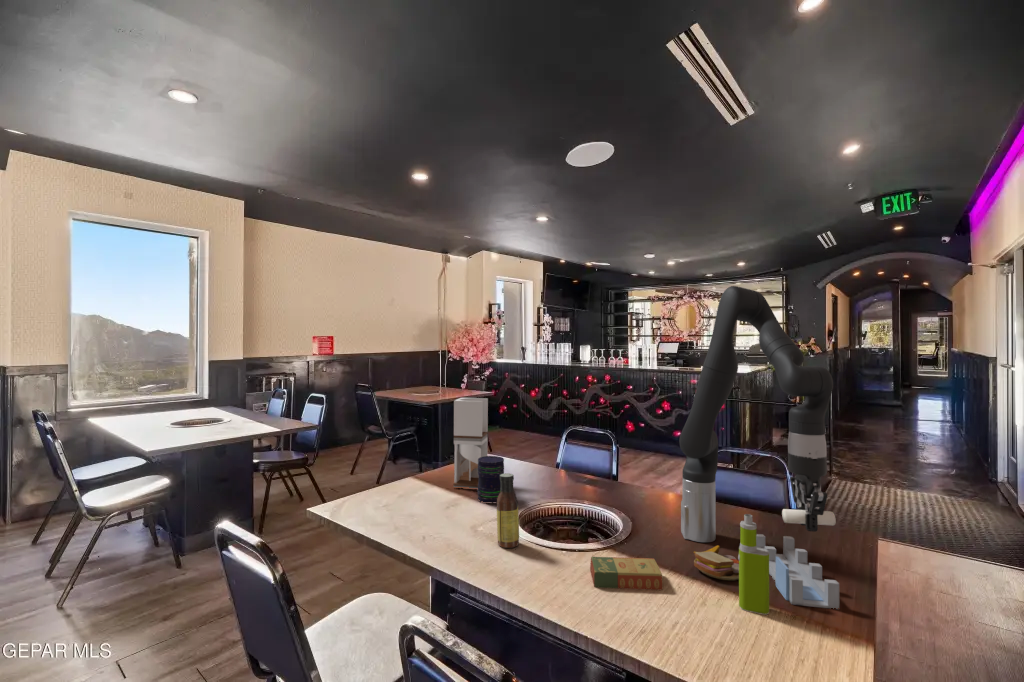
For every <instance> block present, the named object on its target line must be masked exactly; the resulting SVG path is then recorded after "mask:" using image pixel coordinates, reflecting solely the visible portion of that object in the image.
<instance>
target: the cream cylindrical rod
mask: <svg viewBox="0 0 1024 682" xmlns="http://www.w3.org/2000/svg"><path fill="white" fill-rule="evenodd" d="M805 514H806V512H805V510H799V509H789V508H783V509H782V510H781V515H782V520H783V523H785V524H799V525H801V524H806V518H805ZM817 520H818V525H821V526H835V525H836V522H837V520H836V516H835V514H834V512H833V511H829V510H828V511H826V510H824V513H823V515H817Z"/></svg>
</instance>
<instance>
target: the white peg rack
mask: <svg viewBox="0 0 1024 682" xmlns="http://www.w3.org/2000/svg"><path fill="white" fill-rule="evenodd" d="M782 538H783V540H782V541H783V543H782V545H783V546H782V550H783V552H782V553H777V549H776V548H775V546H768V545H766V536H765V534H762V533H756V545H757V547H759V548H764V549H766V550H768V551H769V576H770V577H771V576H772V577H771V578H772V580H773V581H774V580H775V581H774V582H775V587H776V588H777V590H778V592H779V593H780V594H781V595H782V596H783V598H784V599H785V601H789V603H790V605H795V606H804V607H814V608H820V609H821V608H822V609H831V608H833V609H832V610H839V609H840V582H838V581H837V580H836V579H828V578H827V579H825V578H824V580H823V566H822V565H821V564H820V563H815V562H808V551H807V550H806V549H804V548H795V547H796V546H795V543H796V542H795V541H796V540H795V538H794V536H789V535H788V536H787V535H784V536H783V535H782ZM834 608H836V609H834ZM838 608H839V609H838Z"/></svg>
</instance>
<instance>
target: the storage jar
mask: <svg viewBox="0 0 1024 682" xmlns="http://www.w3.org/2000/svg"><path fill="white" fill-rule="evenodd" d="M501 474H505V458H504V457H502V456H497V455H487V456H485V457H480V458H478V475H479V481H478V490H477V500H478V499H479V500H480V501H483V502H497V498H498V495H499V494H500V491H501V490H500V488H501V481H500V475H501Z"/></svg>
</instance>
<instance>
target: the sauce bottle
mask: <svg viewBox="0 0 1024 682" xmlns="http://www.w3.org/2000/svg"><path fill="white" fill-rule="evenodd" d="M514 479H515V477H514V474H513V473H509V472H508V473H505V472H504V474H501V475H500V481H501V488H500V490H501V491H500V494H499V495H498V498H497V503H496V526H497V528H496V530H497V532H496V533H497V537H496V538H497V544H498V546H499V547H501V548H503V549H513V548H515V547H517V546H518V545H519V542H520V528H519V527H520V519H519V517H520V515H519V502H518V499H517V495H516V492H515V490H514Z"/></svg>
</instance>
